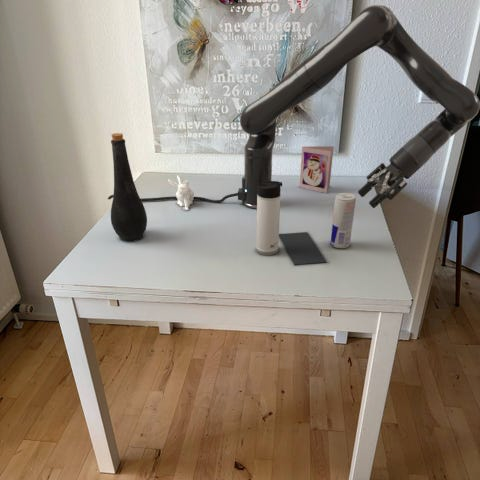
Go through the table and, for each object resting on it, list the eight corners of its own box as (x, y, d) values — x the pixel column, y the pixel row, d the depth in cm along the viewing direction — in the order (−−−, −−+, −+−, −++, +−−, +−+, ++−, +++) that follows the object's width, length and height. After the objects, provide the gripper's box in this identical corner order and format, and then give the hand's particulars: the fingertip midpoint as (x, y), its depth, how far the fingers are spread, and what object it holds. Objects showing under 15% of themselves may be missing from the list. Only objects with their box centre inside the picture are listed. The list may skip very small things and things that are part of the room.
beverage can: (351, 243, 144) (358, 194, 136) (346, 250, 140) (353, 200, 132) (333, 239, 146) (338, 191, 138) (327, 247, 142) (333, 197, 134)
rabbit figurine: (188, 210, 166) (186, 182, 160) (166, 209, 167) (164, 181, 162) (197, 198, 176) (195, 171, 170) (176, 197, 177) (174, 170, 171)
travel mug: (277, 256, 137) (280, 187, 126) (254, 254, 138) (255, 185, 127) (280, 247, 142) (283, 179, 131) (258, 245, 143) (259, 178, 132)
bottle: (155, 232, 151) (143, 131, 135) (138, 246, 143) (124, 140, 126) (125, 227, 154) (110, 128, 137) (107, 241, 146) (89, 137, 129)
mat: (278, 235, 149) (278, 234, 149) (306, 233, 151) (307, 232, 150) (294, 265, 133) (294, 264, 133) (326, 262, 134) (326, 261, 134)
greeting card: (298, 187, 185) (301, 147, 176) (307, 182, 190) (310, 142, 181) (325, 193, 179) (329, 152, 171) (334, 188, 184) (338, 147, 176)
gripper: (393, 140, 136) (348, 183, 141) (416, 154, 124) (367, 200, 129) (407, 158, 139) (363, 199, 144) (431, 174, 128) (382, 218, 133)
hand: (365, 200), depth 137 cm, fingers open, 8 cm apart
